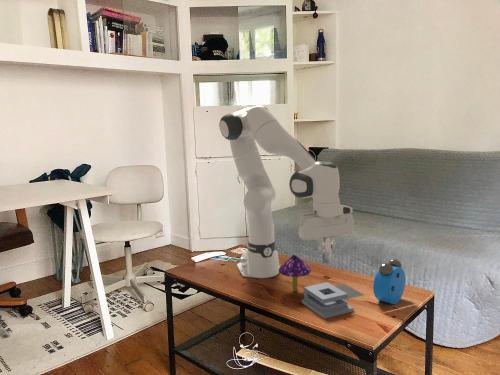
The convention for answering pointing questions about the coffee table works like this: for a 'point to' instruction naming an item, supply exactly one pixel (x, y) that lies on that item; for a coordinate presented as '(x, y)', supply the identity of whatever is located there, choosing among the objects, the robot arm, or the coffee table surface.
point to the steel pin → (326, 250)
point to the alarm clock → (389, 282)
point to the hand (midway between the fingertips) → (326, 249)
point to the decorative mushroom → (294, 269)
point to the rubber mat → (349, 291)
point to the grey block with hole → (326, 300)
